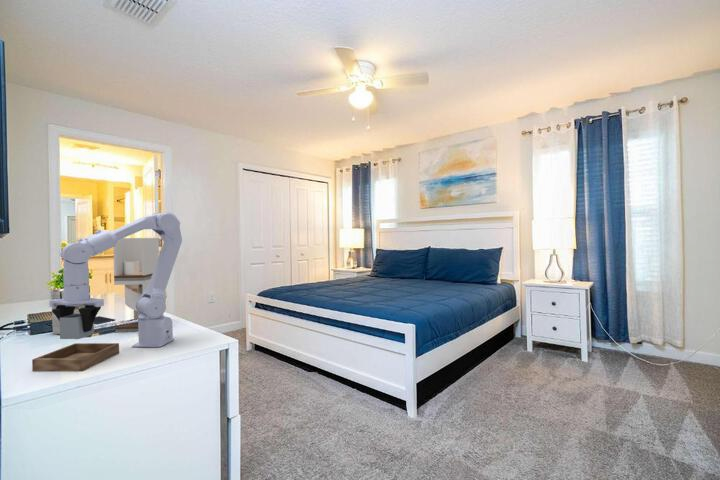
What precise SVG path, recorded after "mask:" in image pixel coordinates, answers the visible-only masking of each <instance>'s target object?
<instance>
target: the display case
mask: <svg viewBox="0 0 720 480" xmlns="http://www.w3.org/2000/svg"><path fill="white" fill-rule="evenodd" d="M159 240H160V239H159V237H124V238H122V239H120V240H118V241H117V244H116V246H115V247H113V278H114V279H113V281H114V282H113V285H114V286H121V285H122V286H124V304H125V305H126V306H127V307H128V308H129V309H132V310H133V319H130V320H129V321H132V320H137V319H138V316H139V314H140V313H139V312H138V311H137V309H136V302H137V301H138V299H139V298H140V297H141V296H142V294H143V292H144V290H145V289H146V288H147V287H148V286H149V283H150V280H151V277H152V274H153V271H154V269H155V266H156V263H157V260H158V257H159V255H160V252H159V251H160V250H159V249H160V247H159V245H160V243H159V242H160V241H159ZM118 326H119V325H118ZM115 329H116V331H115ZM116 332H117V333H138V322H137V323H132V324H128V325H124V326H119V327H116V326H115V327H114V333H116Z"/></svg>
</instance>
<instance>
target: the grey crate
mask: <svg viewBox="0 0 720 480" xmlns="http://www.w3.org/2000/svg"><path fill="white" fill-rule="evenodd" d="M94 334H95V324H94V323H93V326H92V330H91V331H88V332H83V325H82V318H81V315H80V313H76V314H72V315H68V316H65V317H61V318H60V335H59V340H80V339H82V338H85V337H88V336H91V335H94Z"/></svg>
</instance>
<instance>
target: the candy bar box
mask: <svg viewBox="0 0 720 480" xmlns="http://www.w3.org/2000/svg"><path fill="white" fill-rule="evenodd" d="M89 298H91V287H90V285H89ZM54 299H64V287H63V288H60V289H52V290H50V300H54ZM80 308H85V306H76V307H75V309H74V313H73V314H76V313H80V312H79V310H78V309H80ZM52 309H56V306H55V307H51V310H52ZM51 322H52V323H51V324H52V325H51V326H52V335H57V336H60V322H59V320H58V318H57V317H56V315H55V314H54V313H53V312H52V311H51Z"/></svg>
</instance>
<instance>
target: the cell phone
mask: <svg viewBox="0 0 720 480" xmlns="http://www.w3.org/2000/svg"><path fill="white" fill-rule="evenodd" d="M115 320H116V318H111V317H110V318H109V317H105V316H100V315H99V316H96V317H95V320H94V325H102V324H107V323H111V321H112V322H116V321H115Z"/></svg>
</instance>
